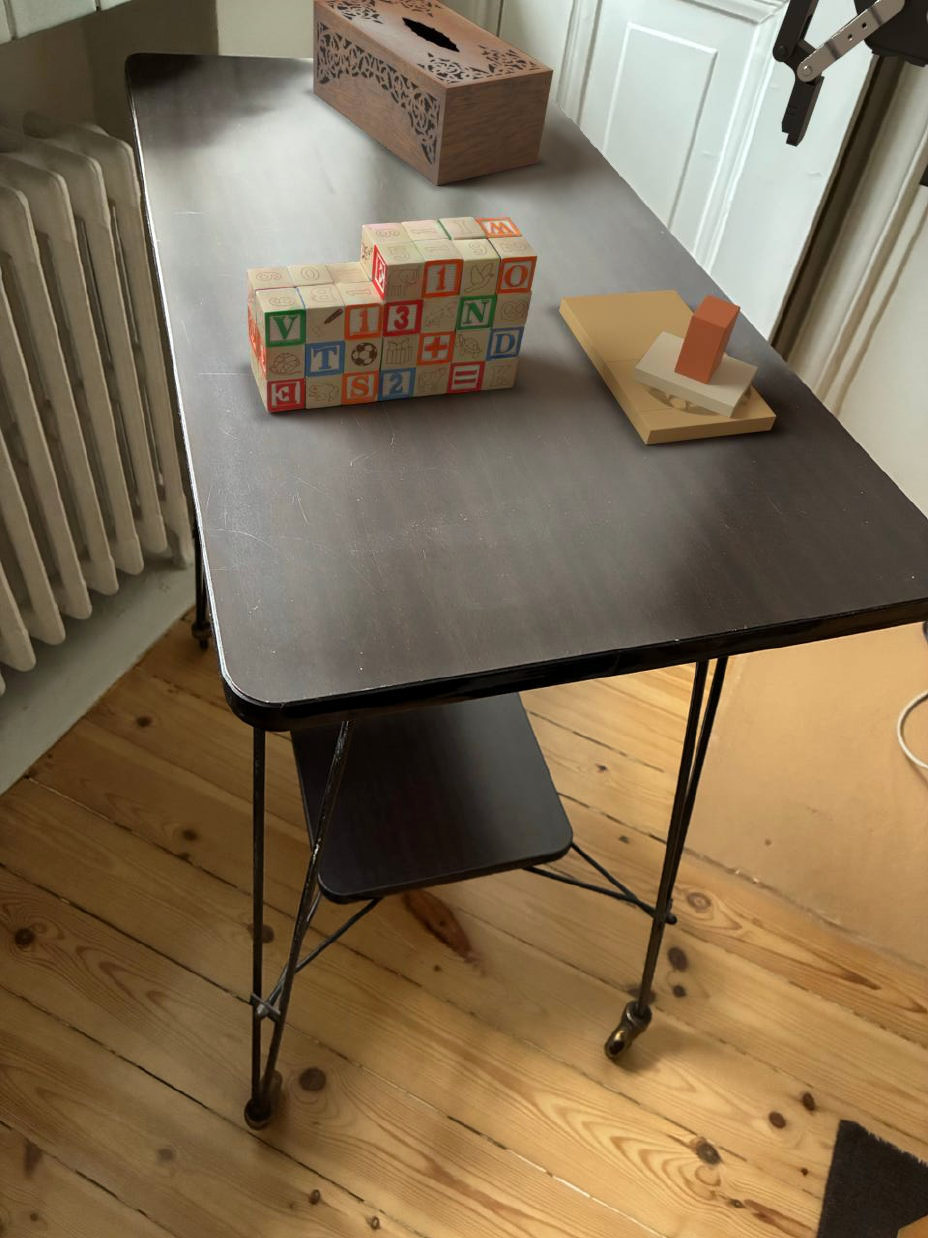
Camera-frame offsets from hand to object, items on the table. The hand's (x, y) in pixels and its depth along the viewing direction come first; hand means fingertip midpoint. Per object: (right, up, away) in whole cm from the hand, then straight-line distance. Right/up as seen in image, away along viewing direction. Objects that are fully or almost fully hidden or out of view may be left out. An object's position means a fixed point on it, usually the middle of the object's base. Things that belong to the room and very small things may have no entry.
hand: (859, 161), depth 62 cm
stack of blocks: (-32, -9, +21) cm, 39 cm away
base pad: (-7, -6, +27) cm, 29 cm away
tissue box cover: (-30, +29, +55) cm, 69 cm away
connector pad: (-5, -9, +25) cm, 27 cm away
